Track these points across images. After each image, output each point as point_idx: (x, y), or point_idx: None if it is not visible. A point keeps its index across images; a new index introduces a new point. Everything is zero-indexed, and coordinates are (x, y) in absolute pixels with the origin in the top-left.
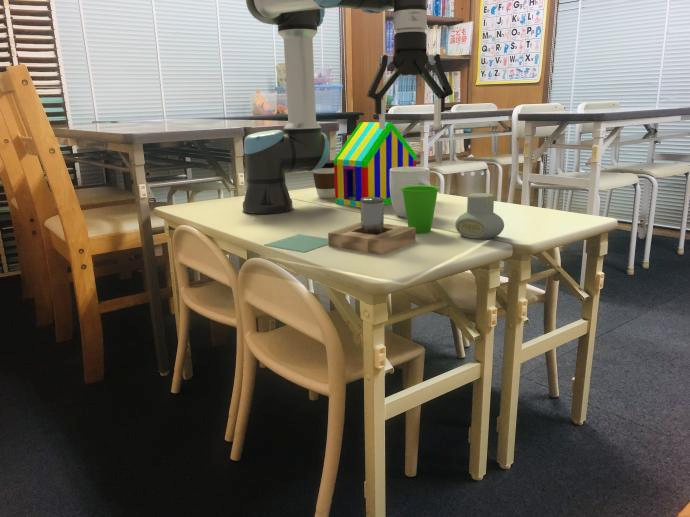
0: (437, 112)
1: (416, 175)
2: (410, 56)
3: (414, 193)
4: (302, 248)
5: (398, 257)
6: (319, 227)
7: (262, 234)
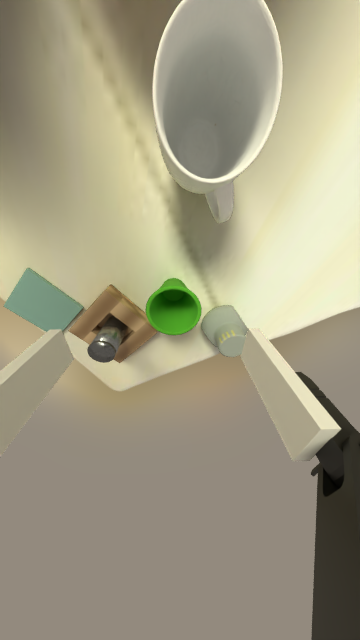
0: (261, 393)
1: (210, 186)
2: None
3: (160, 327)
4: (51, 327)
5: (135, 356)
6: (41, 215)
7: None
